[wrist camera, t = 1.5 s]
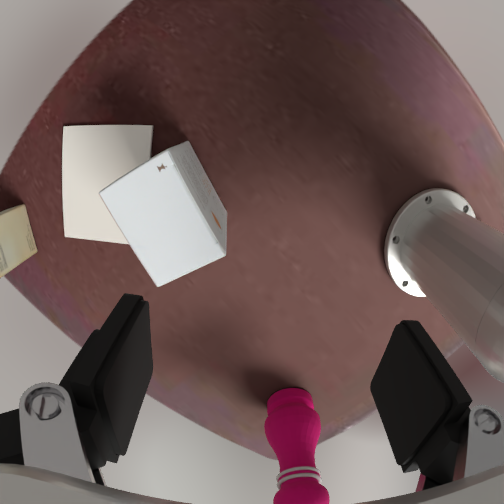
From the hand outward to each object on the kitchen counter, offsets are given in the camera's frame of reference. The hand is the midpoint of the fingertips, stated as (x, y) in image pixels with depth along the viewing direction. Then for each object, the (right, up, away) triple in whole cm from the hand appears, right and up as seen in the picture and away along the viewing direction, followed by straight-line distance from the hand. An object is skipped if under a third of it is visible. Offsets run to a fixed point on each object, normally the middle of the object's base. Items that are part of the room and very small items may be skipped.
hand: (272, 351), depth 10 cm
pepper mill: (+4, -17, +31) cm, 36 cm away
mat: (-16, +10, +19) cm, 27 cm away
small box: (-7, +9, +20) cm, 23 cm away
